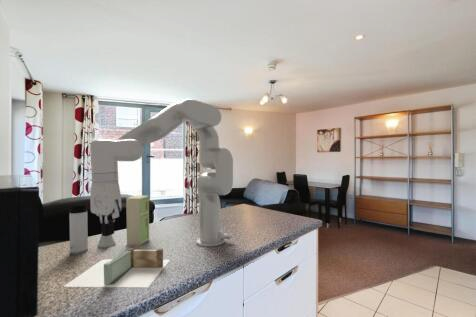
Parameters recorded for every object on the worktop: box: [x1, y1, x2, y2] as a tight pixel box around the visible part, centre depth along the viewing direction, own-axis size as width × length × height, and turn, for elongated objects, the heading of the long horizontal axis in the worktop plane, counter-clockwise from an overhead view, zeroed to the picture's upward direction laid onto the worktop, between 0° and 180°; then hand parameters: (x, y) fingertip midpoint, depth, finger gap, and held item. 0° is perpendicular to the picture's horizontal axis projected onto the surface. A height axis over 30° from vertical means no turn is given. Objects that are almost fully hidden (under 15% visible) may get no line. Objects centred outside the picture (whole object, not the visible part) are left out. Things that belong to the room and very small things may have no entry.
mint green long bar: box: [104, 250, 131, 284], centre depth 81 cm, size 12×2×6 cm, turn 172°
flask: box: [97, 234, 116, 249], centre depth 111 cm, size 7×7×10 cm
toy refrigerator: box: [125, 195, 150, 246], centre depth 114 cm, size 8×7×21 cm
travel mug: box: [68, 204, 89, 256], centre depth 103 cm, size 6×7×20 cm
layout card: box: [63, 258, 171, 288], centre depth 84 cm, size 26×20×1 cm
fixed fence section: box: [127, 247, 164, 268], centre depth 87 cm, size 12×2×6 cm, turn 87°
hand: (108, 234), depth 80 cm, fingers closed
